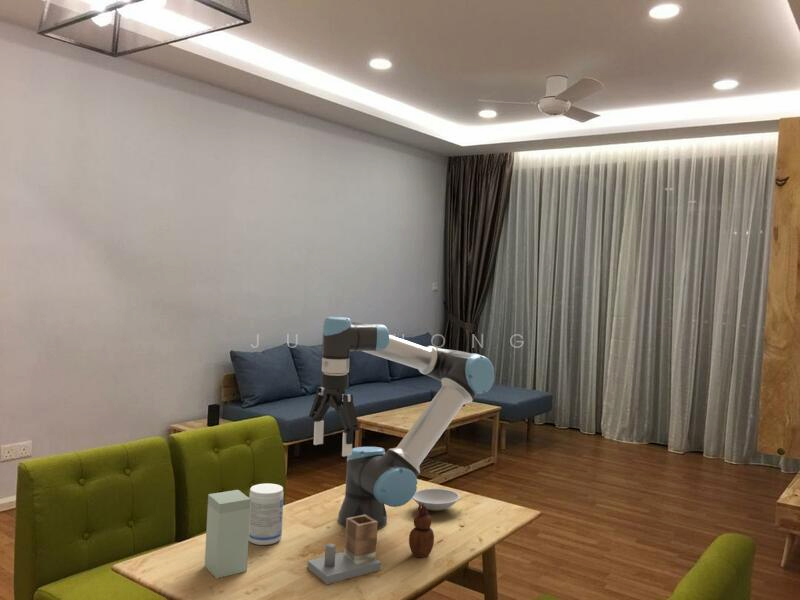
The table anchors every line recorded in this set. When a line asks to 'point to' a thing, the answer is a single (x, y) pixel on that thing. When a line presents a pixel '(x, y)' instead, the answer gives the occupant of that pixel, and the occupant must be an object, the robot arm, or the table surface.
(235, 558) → the tower
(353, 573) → the pin board
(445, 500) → the dish
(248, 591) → the table surface
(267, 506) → the supplement tub
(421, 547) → the wooden figurine
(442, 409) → the robot arm
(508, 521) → the table surface
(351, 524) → the sleeve
